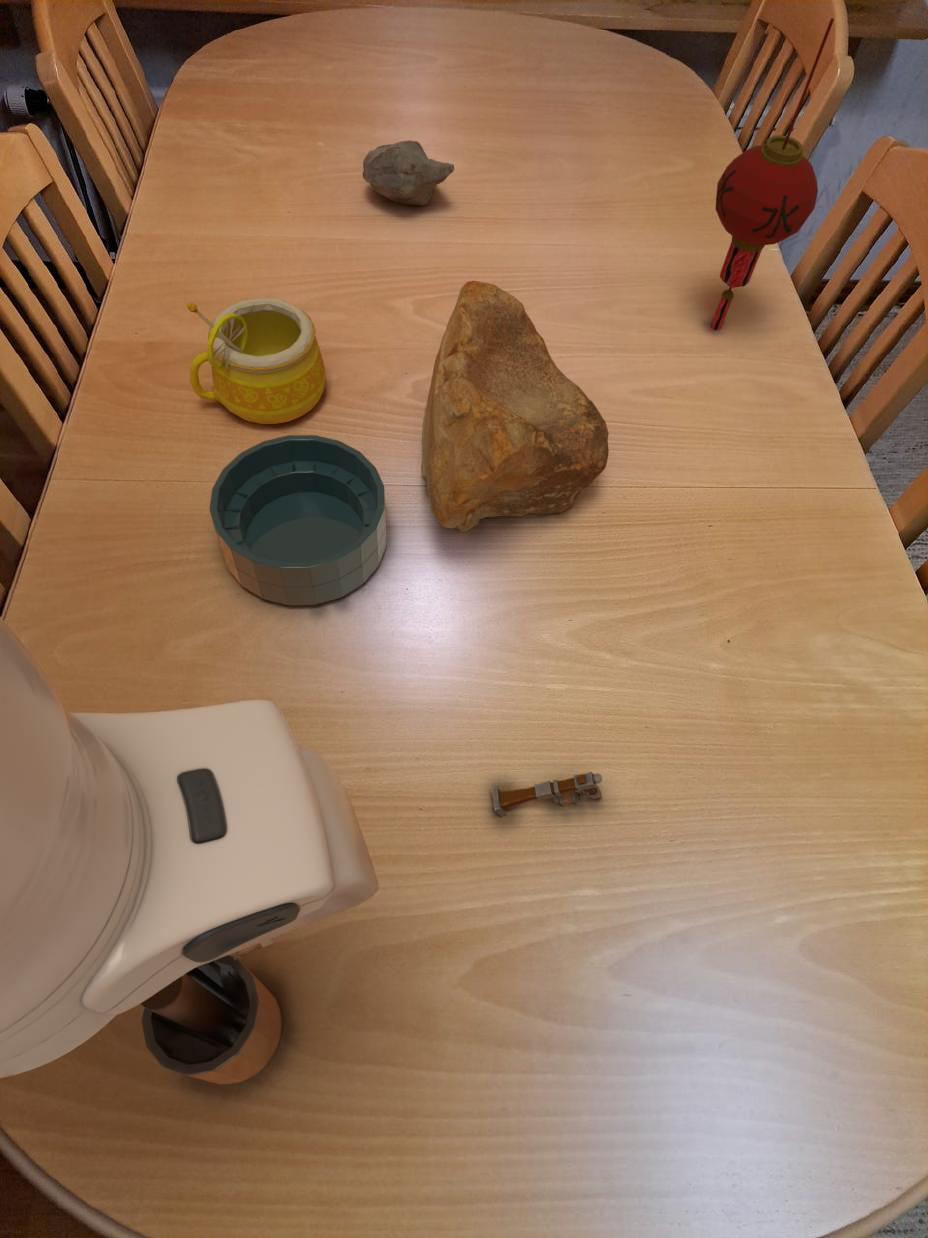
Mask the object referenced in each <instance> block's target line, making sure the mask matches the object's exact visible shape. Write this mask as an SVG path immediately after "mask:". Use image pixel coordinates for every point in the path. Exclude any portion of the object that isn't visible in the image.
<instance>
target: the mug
mask: <svg viewBox="0 0 928 1238" xmlns="http://www.w3.org/2000/svg"><path fill="white" fill-rule="evenodd" d="M186 305H187V306H186V307H187V309H188V311H189V312H191V313H196V315H198V316H199V317H200V318H201V319H202V320H203V321H204V322H205V323H206V324H207V325H208V326H209V329H208V332H207V334H208V335H207V346H206V351H203V352H201V353H200V354H197V356H196V357H194V359H193V360H192V362H191V364H190V366H189V377H190V378H189V379H190V380H189V381H190V385H191V387H192V388H193V391H194V394H195V395H197V396H198V397H199V398H201V399H204V400H215V401H216V402H218V403H221V404H222V405H223V406H224V408H226V409H227V410H228V411H229V412H230V413H232V414H234V415H236V416H237V417H239V418H241V419H242V420H244V421H247V422H251V423H257V424H260V425H261V424H262V425H276V424H283V423H288V422H291V421H293V420H296V419H298V418H300V417H303V416H304V415H306V414H307V413H309V412H310V411H312V410H313V408H315V406H316V405H317V404H318V403H319V402H320V399H321V397H322V395H323V392H324V391H325V386H326V381H327V379H326V368H325V363H324V360H323V355H322V352H321V349H320V345H319V342H318V339H317V336H316V332H317V331H316V327H315V325H314V322H313V319H312V318H311V316H310V315H309V314H308V313H307V312H305V311H304V310H303V309H301V308H300V307H299V306H297V305H296V304H295V305H294V304H292V303H290V302H288V300H287V301H286V300H283V299H278V298H272V297H256V298H247V299H243V300H241V301H238V302H237V301H236V302H234V303H233V304H231V305H229V306H227V307H226V308H224V309H223V310H222V311H220V313H219V314H218V315H217V316H216V317H215V318H214V319H213V321H212V322H211V321H210V320H209V319H208V318H207V317H206V316H205V315H204V314H203V313H202V312H201V311H199V310H198V306H197V304H196V303H195V302H191V301H190V302H188V303H187V304H186ZM206 362H209V364H210V366H211V375H212V382H213V386H212V387H211V390H210V391H209V390H206V389H203V387H202V385H201V383H200V378H199V369H200V367H201V366H202V365H203V364H204V363H206Z"/></svg>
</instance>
